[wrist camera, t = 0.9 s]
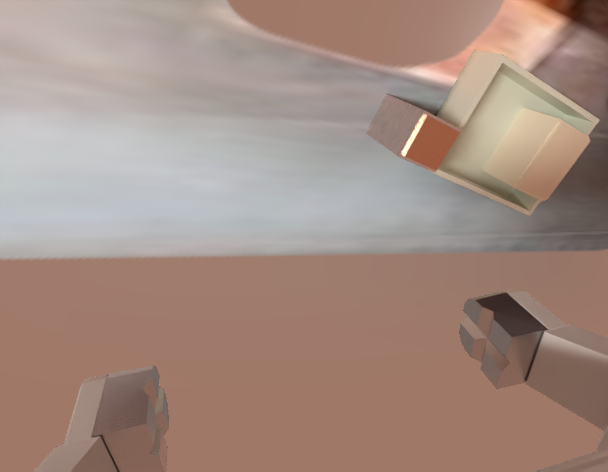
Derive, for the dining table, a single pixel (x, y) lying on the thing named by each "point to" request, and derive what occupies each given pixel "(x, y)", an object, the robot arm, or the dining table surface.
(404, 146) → the copper capped metal stub
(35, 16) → the dining table surface
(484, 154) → the tote
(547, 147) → the beige rectangular block
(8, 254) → the dining table surface
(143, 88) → the dining table surface
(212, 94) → the dining table surface
